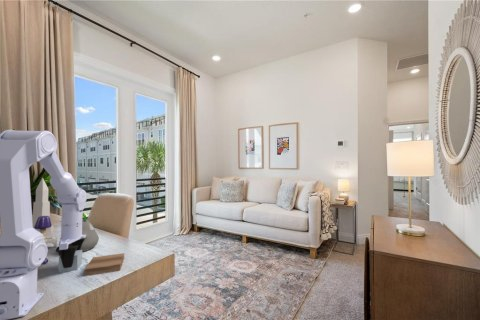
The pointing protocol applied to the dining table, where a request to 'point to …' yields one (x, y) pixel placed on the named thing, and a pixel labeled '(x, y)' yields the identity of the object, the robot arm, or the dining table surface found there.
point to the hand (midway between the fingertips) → (70, 263)
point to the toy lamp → (43, 228)
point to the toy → (88, 235)
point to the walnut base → (104, 264)
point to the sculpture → (43, 209)
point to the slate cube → (76, 262)
